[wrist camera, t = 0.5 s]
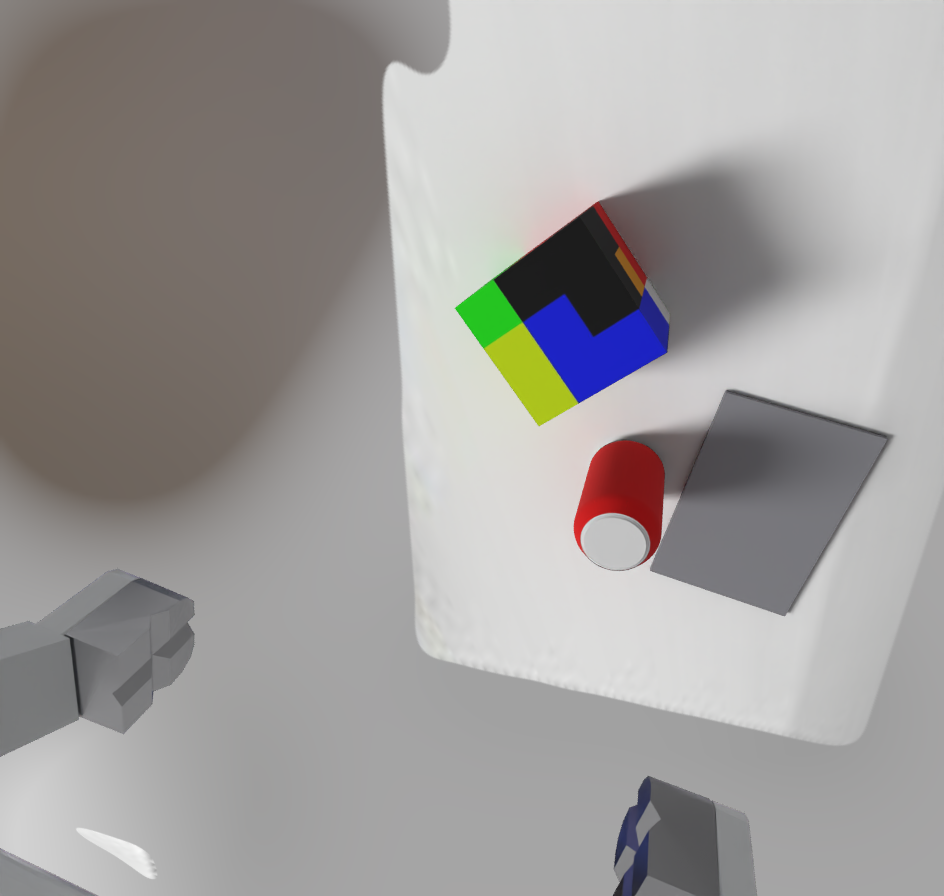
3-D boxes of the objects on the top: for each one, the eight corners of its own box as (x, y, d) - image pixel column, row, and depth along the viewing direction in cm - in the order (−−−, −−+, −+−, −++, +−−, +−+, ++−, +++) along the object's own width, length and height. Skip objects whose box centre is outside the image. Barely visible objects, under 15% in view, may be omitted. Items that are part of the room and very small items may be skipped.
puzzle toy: (670, 314, 50) (667, 352, 41) (561, 379, 54) (538, 426, 46) (598, 201, 48) (579, 216, 39) (492, 278, 52) (454, 308, 44)
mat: (725, 390, 51) (726, 392, 50) (885, 436, 49) (887, 439, 49) (650, 567, 59) (650, 570, 59) (784, 612, 58) (784, 616, 57)
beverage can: (587, 436, 56) (566, 505, 45) (663, 433, 54) (658, 506, 43) (593, 498, 58) (574, 578, 48) (666, 498, 56) (662, 582, 46)
